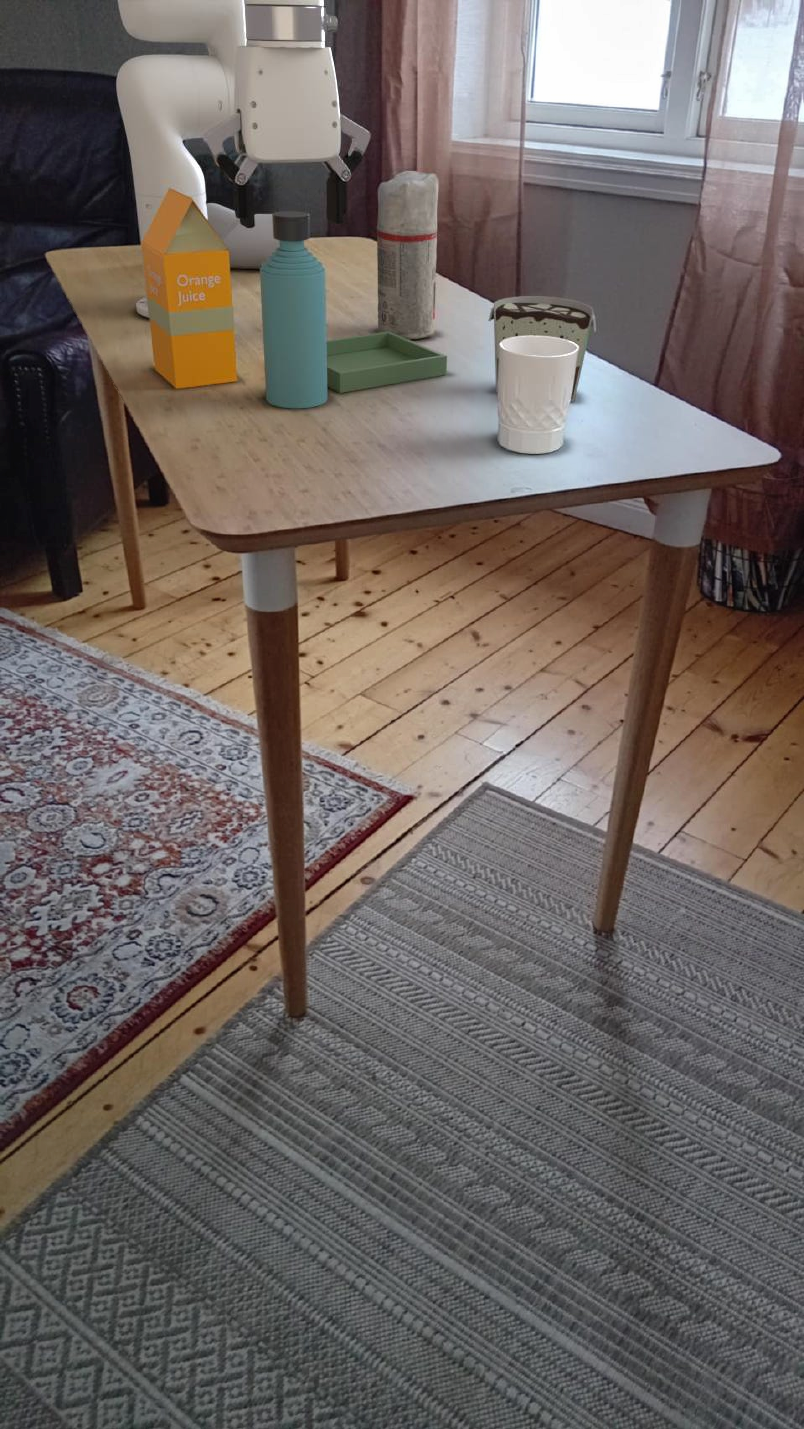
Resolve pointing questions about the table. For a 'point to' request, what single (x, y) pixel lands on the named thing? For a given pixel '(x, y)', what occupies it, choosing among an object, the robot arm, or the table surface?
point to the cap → (291, 226)
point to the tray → (379, 361)
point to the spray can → (407, 254)
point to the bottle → (294, 327)
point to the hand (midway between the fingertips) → (291, 224)
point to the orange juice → (188, 296)
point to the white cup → (534, 392)
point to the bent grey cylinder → (243, 237)
